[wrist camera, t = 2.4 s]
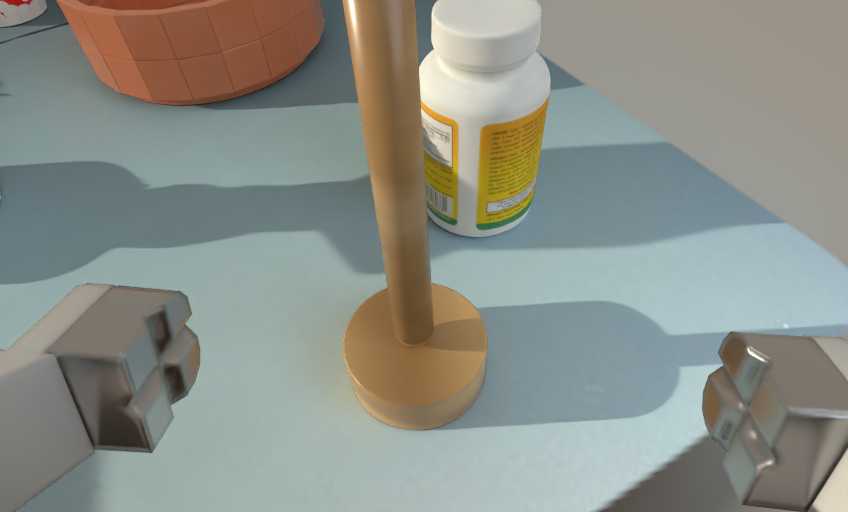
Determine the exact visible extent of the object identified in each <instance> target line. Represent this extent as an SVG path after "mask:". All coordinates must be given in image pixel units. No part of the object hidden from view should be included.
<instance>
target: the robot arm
mask: <svg viewBox="0 0 848 512" xmlns="http://www.w3.org/2000/svg"><path fill="white" fill-rule="evenodd" d="M191 315H192V311H191V308H190V304H189V301H188V297H187V296H186V295H185V294H183V293H182V292H180V291H172V290H162V289H151V288H141V287H130V286H120V285H119V286H115V285H105V284H93V283H86V284H82V285H78V286H76V287H75V288H74V289H73V290H72V291H71V292H70V293H69V294H67V295H66V296H65V297H64V298H63V299H62V300H61V301H60V302H59V303H58V304H57V305H55V306H54V307H53V308H52V309H51V310H50V311H49V312H48V313H47V314H46V315H45V316H43V317H42V318H41V319H40V320H39V321H38V322H37V323H36V324H35V325H34V326H33V327H31V328H30V329H29V330H28V331H27V332H26V333H25V334H24V335H23V336H22V337H21V338H19V339H18V340H17V341H16V342H15V343H14V344H13V345H12V346H11V347H10V348H9V349H7V350H0V512H15V511H16V510H18V509H19V508H20V507H22V506H23V505H24V504H26V503H27V502H28V501H30V500H31V499H33V498H34V497H35V496H37V495H38V494H39V493H41V492H42V491H43V490H45V489H46V488H48V487H49V486H50V485H52V484H53V483H54V482H56V481H57V480H58V479H60V478H61V477H62V476H64V475H65V474H67V473H68V472H69V471H71V470H72V469H73V468H75V467H76V466H77V465H79V464H80V463H82V462H83V461H84V460H86V459H87V458H88V457H90V456H91V455H92V454H94V453H95V451H94V450H111V451H128V452H145V453H153V451H154V449H155V448H156V446H157V444H158V443H159V441H160V440H161V438H162V436H163V435H164V433H165V431H166V430H167V428H168V426H169V425H170V423H171V421H172V420H173V418H174V416H173V412H172V408H171V405H172V404H174V403H176V402H177V401H179V400H180V399H182V398H184V397H185V396H187V395H188V393H189V391H190V390H191V388H192V386H193V384H194V383H195V381H196V377H197V373H198V369H199V365H200V346H199V341H198V337H197V335H196V334H195V333H194V332H193V331H192V330H191V329H189V328H188V327H187V326H186V325H185V324H186V322H187V321H188V319H189V318H190V316H191ZM718 354H719V356H720V358H721V360H722V362H723V364H724V365H723V366H722V367H720V368H719V369H717V370H716V371H714V372H713V373H712V374H710V375H709V376H708V379H707V382H706V385H705V388H704V390H703V402H702V412H703V416H704V421H705V425H706V427H707V430H708V432H709V434H710V437H711V438H712V439H713V440H714V441H715V442H716V443H718V444H719V445H720V446H721V447H722V448H724V449H725V450H726V451H727V452H728V453H727V455H726V457H725V460H724V462H723V465H724V468H725V470H726V472H727V474H728V476H729V479H730V481H731V483H732V485H733V487H734V490H735V492H736V494H737V496H738V498H739V501H740V503H741V505H747V506H756V507H765V508H773V509H782V510H791V511H799V512H848V341H847V340H845V339H843V338H841V337H827V336H805V335H803V336H786V335H772V334H757V333H743V332H730V333H729V334H728V335H727V336H726V337H725V338H724V339H723V342H722V344H721V346H720V349H719V351H718Z"/></svg>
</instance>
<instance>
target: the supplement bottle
mask: <svg viewBox="0 0 848 512" xmlns="http://www.w3.org/2000/svg"><path fill="white" fill-rule="evenodd" d="M541 20H542V8H541V6H540V4H539V2H538V1H537V0H438V1H437V2H436V3H435V4H434V6H433V9H432V36H431V40H432V44H433V47H434V49H433V50H432V51H431V52H430V53H429V54H428V55H427V56H426V57H425V59H424V60H423V62H422V63H421V65H420V68H419V79H420V96H421V114H422V131H423V148H424V165H425V182H426V200H427V213H428V215H429V216H430V217H431V218H432V220H433V221H434V222H435V223H437V224H438V225H439V226H441V227H442V228H444V229H445V230H447V231H449V232H452V233H455V234H458V235H462V236H468V237H487V236H493V235H496V234H499V233H502V232H505V231H507V230H510V229H512V228H513V227H515V226H517V225H518V224H519V223H520V222H522V220H523V219H524V218H525V217H526V216H527V214H528V212H529V211H530V208H531V206H532V202H533V197H534V191H535V184H536V178H537V172H538V164H539V158H540V151H541V145H542V137H543V131H544V124H545V117H546V111H547V105H548V99H549V92H550V83H551V82H550V72H549V69H548V66H547V64H546V62H545V61H544V59H543V58H542V56H541V55H540V54H539V53H538V52H537V51H536V48H537V47H538V45H539V42H540V31H541Z"/></svg>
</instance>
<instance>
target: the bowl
mask: <svg viewBox="0 0 848 512" xmlns="http://www.w3.org/2000/svg"><path fill="white" fill-rule="evenodd" d="M57 2H58V4H59V6H60V8H61V10H62V12H63V13H64V15H65V17H66V19H67V21H68V23H69V24H70V26H71V28H72V30H73V32H74V34H75V35H76V37H77V39H78V41H79V43H80V45H81V46H82V48H83V50H84V52H85V54H86V56H87V57H88V59H89V61H90V63H91V65H92V67H93V68H94V70H95V72H96V74H97V76H98V78H99V79H100V81H101V82H103V83H104V84H106V85H108V86H109V87H111V88H113V89H114V90H116V91H118V92H119V93H121V94H125V95H130V96H133V97H135V98H138V99H141V100H144V101H148V102H153V103H158V104H168V105H195V104H205V103H212V102H218V101H223V100H227V99H232V98H236V97H239V96H242V95H246V94H249V93H251V92H254V91H257V90H259V89H262V88H264V87H266V86H268V85H270V84H273V83H275V82H276V81H278V80H280V79H282V78H283V77H285V76H286V75H288V74H289V73H291V72H292V71H293V70H295V69H296V68H297V67H298V66H299V65H300V64H301V63H302V62H303V61H304V60H305V59H306V58H307V57H308V55H309V54H310V52H311V51H312V50H313V49H314V48H315V47H316V46H317V44H318V43H319V41H320V38H321V35H322V32H323V29H324V26H325V22H324V16H323V11H322V6H321V0H57Z"/></svg>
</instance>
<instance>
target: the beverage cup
mask: <svg viewBox="0 0 848 512" xmlns="http://www.w3.org/2000/svg"><path fill="white" fill-rule="evenodd" d="M46 9H47V2H46V0H0V27H7V26H13V25H17V24H22V23H25V22H27V21H30V20H32V19H34V18H36V17H38V16H39V15H41V14H42V13H43V12H44V11H45V10H46Z"/></svg>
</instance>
